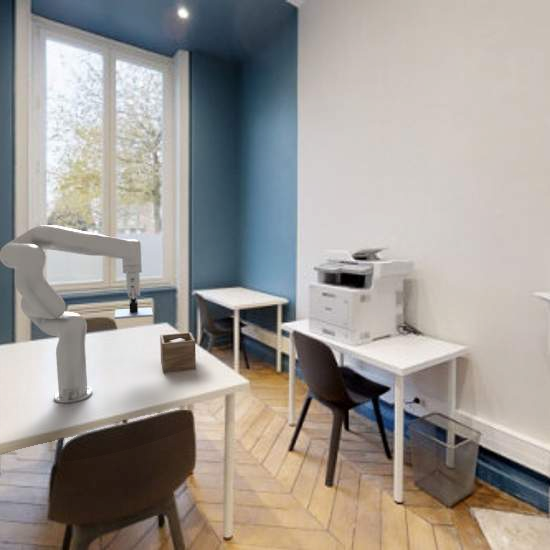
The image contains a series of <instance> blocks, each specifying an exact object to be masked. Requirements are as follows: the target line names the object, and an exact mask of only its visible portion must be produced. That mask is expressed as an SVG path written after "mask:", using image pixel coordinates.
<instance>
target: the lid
mask: <svg viewBox="0 0 550 550" xmlns="http://www.w3.org/2000/svg"><path fill="white" fill-rule="evenodd" d="M135 303H136V301H135ZM153 316H154V314H153V309H152V307H150V306H149V307H138V312H135V313H130V308H120V309H119V308H118V309H115V311H114V317H113V318H114V320H118V319H134V318H147V317H149V318H150V317H153Z"/></svg>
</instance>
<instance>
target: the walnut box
mask: <svg viewBox="0 0 550 550" xmlns="http://www.w3.org/2000/svg"><path fill="white" fill-rule="evenodd" d="M159 337H160V338H159V341H160V364H161V369H162V374H166V373H173V372H175V373H177V372H183V371H191V370H192V371H193V370H197V368H196V366H197V365H196V364H197V363H196V357H197V356H196V339H195V338H194V335H193V333H192V332H181V333H170V334H160V335H159ZM178 338H181V339H185V341H180V342H169V341H171V340H175V339H178Z"/></svg>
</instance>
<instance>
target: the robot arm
mask: <svg viewBox="0 0 550 550" xmlns="http://www.w3.org/2000/svg"><path fill="white" fill-rule="evenodd" d="M44 250H50V251H58V252H63V253H64V252H65V253H71V254H77V255H82V256H83V255H84V256H97V257H98V256H99V257H101V256H102V257H106V258H109V259H115V260H118V259H119V260H122V273H123V274H125V279H126V282H125V283H126V293H127V296H128V297H129V309H130V313H135V312H138V308H139V306H138V297H140V296H141V281H140V279H141V278H140V274H141V273H142V245H141V241H140V240H138V239H124V238H119V237H114V236H110V235H109V236H107V235H102V234H98V233H94V232H88V231H83V230H78V229H74V228H68V227H64V226H60V225H51V224H50V225H43V224H41V225H37V226H34V227H33V228H31V229H29V230H27V231H25V232H24V233H22V234H21V235H19V236H17V237H16V238H14V239H12V240H11V241H8V242H7V243H6V244H5V245H4V246H3V247H2V248H1V249H0V262H1V263H2V264H3V265H4V266H5V267H7V268H10V269H15V275H14V285H15V288H16V290H17V292H19V294H20V296H22V298H21V299H20V309H21V310H22V312H23V314H24V315H25V316H26V317H27V318H28V319H29V320H30V321H31V322H32V323H33V324H34V325H35V326H36V327H38V329H39V330H40V331H42V332H43V333H44V334H47V335H49V336H52V337H53V336H54V337H57V338H58V341H57V345H56V350H55V355H56V356H55V357H56V371H57V386H58V387H57V388H58V391H57V392H56V393H55V394H54V396H53V399H54V401H55V402H57V403H61V404H69V403H70V404H71V403H76V402H80V401H83V400H86V399H87V398H89V397H90V396H92V394H93V389H92V388H91V387H90V386H88V377H87V376H88V375H87V357H86V356H87V355H86V335H87V329H88V324H87V320H86V318H85V317H84V316H82V315H81V314H79V313H77V312H72V311H67V310H66V308H67V305H66V302H65V300H64V299H63V297H62V296H61V295H60V294H59V293H58V292H57V291H56V290H55V289H54V287H52V285H50V283H49V282H48V281H47V279H46V278H45V275H44V269H45V265H46V260H47V259H46V258H47V256H46V253H45V251H44ZM135 301H136V303H135Z"/></svg>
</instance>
